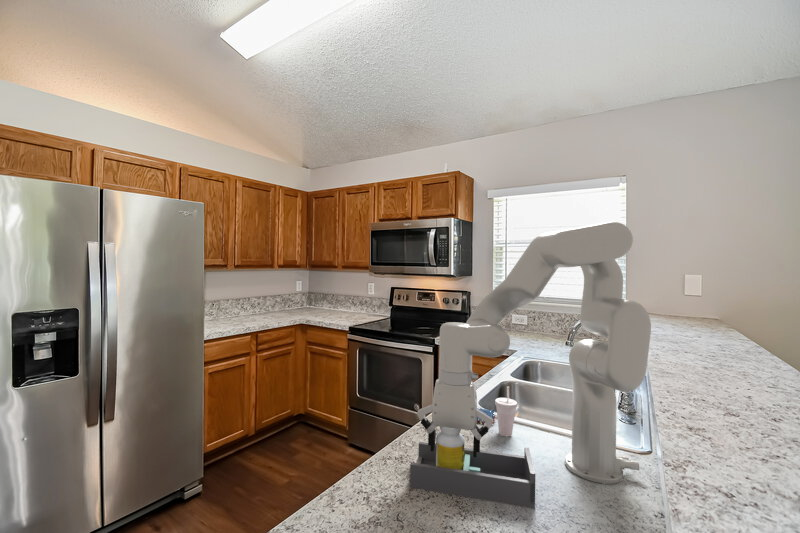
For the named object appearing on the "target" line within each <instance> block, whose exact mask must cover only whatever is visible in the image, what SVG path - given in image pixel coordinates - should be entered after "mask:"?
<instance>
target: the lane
mask: <svg viewBox="0 0 800 533" xmlns="http://www.w3.org/2000/svg"><path fill="white" fill-rule="evenodd" d="M523 453H524V454H523V455H521V454H520V455H519V454H512V453H511V454H510V453H506V452H505V453H504V452H498V451H497V452H496V451H489V450H483V449H480V452H477V456H476V457H473V448H468V447H464V459H465V454H470V467H476V468H480V473H478V472H471V471H465V470H458V469H452V468H445V467H439V466H436V443H435V448H434V451H431V445H428V442H423V441H419V442H418V456H417V459H416V462H412V461H411V462H410V464H409V466H410V467H409V468H410V469H409V470H410V471H409V472H410V473H409V488H411V489H416V490H421V491H427V492H428V491H429V492H435V493H439V494H440V493H441V494H445V495H450V496H451V495H452V496H458V497H464V498H469V499H475V500H481V501H486V502H494V503H499V504H505V505H510V506H517V507H521V508H527V509H528V508H529V509H534V510H535V509H536V470H535V467H534V463H533V459H532V455H531V451H530V448H529V447H524V452H523Z"/></svg>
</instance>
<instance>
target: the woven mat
mask: <svg viewBox="0 0 800 533" xmlns="http://www.w3.org/2000/svg"><path fill="white" fill-rule="evenodd" d="M477 409H479V410H480V411H482V412H483V413H485V414H487V415H488V416H490V417H491V418H493V425H494V424H495V422H496V421H495V417H496V415H495V416H493V415H494V414H493V413H494V412H495V410H494V409H493V410H491V409H486V408H481V407H480V408H478V407H477ZM490 411H491V412H490ZM477 422H479V423H478V424H480V423H485V421H483V420H482V419H480V418H478V417H477Z"/></svg>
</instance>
